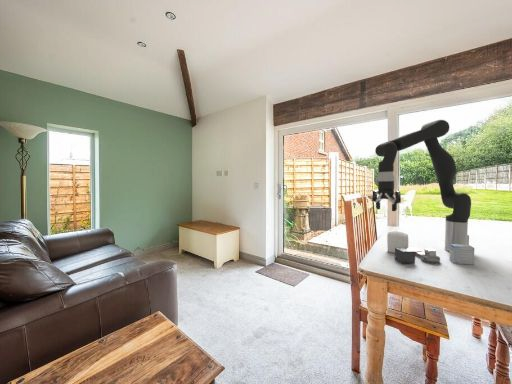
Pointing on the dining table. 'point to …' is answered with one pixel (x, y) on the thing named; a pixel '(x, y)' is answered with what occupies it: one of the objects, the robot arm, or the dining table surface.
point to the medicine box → (461, 254)
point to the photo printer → (396, 240)
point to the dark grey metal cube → (405, 255)
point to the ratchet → (427, 256)
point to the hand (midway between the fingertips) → (385, 210)
